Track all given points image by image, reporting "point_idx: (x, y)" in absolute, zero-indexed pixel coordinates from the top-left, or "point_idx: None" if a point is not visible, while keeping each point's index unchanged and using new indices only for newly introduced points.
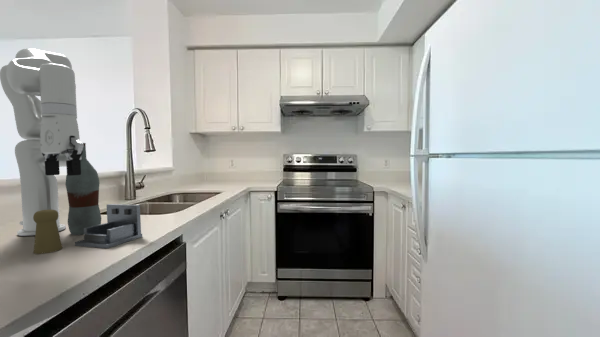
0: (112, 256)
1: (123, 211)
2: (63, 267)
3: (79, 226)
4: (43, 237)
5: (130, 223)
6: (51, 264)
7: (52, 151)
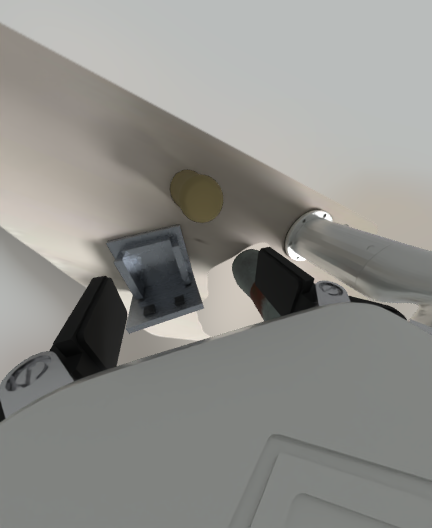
0: (33, 222)
1: (160, 308)
2: (19, 142)
3: (242, 259)
4: (178, 181)
5: (146, 298)
6: (71, 144)
7: (180, 358)
